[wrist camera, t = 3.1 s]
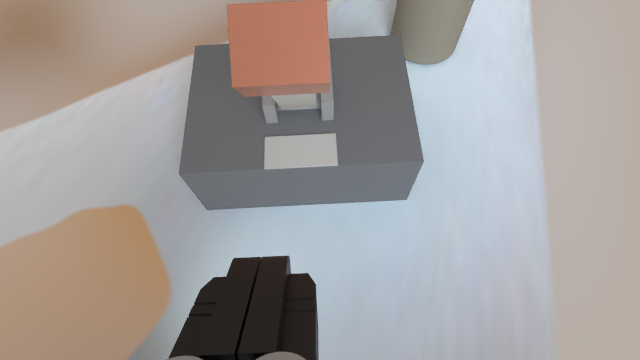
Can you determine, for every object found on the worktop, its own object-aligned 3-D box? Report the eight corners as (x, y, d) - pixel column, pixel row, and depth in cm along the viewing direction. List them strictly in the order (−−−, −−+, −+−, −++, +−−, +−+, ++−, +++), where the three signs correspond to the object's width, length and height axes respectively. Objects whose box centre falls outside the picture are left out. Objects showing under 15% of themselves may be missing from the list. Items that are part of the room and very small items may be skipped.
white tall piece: (274, 118, 33) (232, 87, 17) (271, 76, 33) (226, 4, 17) (325, 115, 33) (330, 82, 17) (323, 73, 33) (326, -1, 17)
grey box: (207, 209, 39) (167, 158, 29) (217, 97, 45) (186, 25, 35) (406, 199, 39) (430, 145, 29) (389, 88, 45) (404, 14, 35)
